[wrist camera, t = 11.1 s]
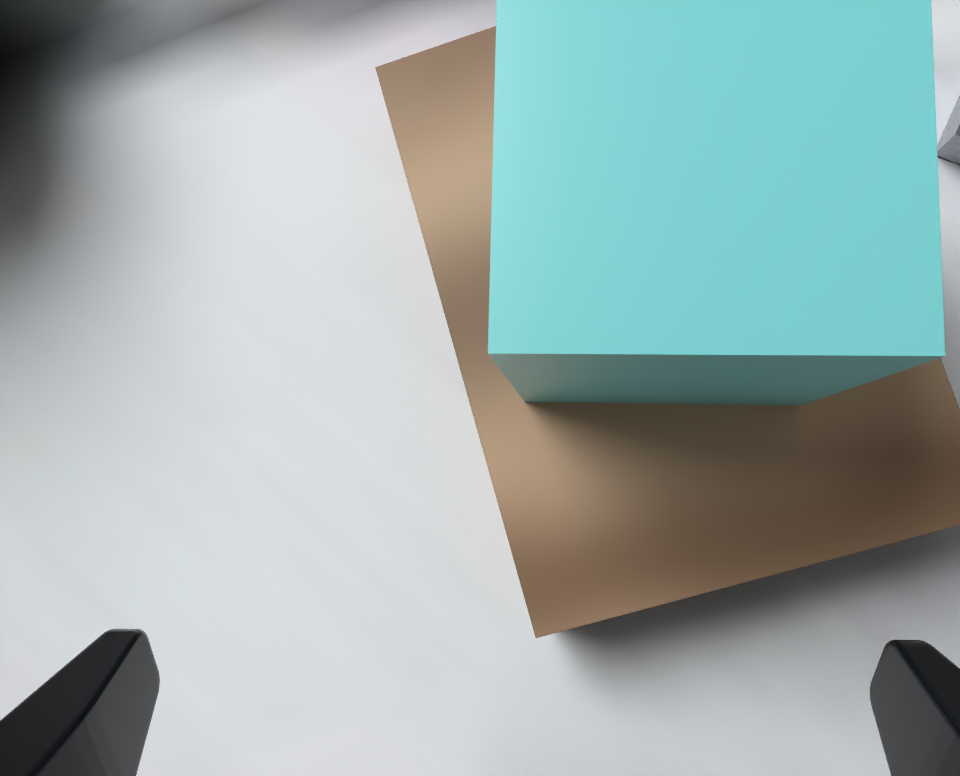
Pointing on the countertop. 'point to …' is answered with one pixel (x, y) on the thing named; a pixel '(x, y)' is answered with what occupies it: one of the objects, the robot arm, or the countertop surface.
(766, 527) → the board
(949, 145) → the post stand
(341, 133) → the countertop surface
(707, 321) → the turquoise square block
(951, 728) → the robot arm
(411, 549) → the countertop surface
